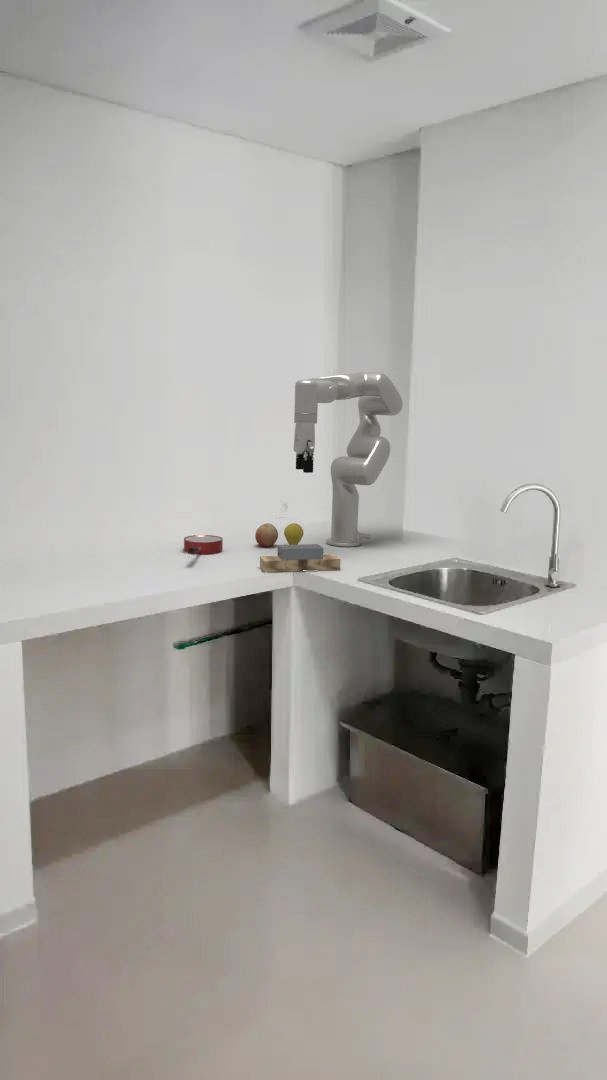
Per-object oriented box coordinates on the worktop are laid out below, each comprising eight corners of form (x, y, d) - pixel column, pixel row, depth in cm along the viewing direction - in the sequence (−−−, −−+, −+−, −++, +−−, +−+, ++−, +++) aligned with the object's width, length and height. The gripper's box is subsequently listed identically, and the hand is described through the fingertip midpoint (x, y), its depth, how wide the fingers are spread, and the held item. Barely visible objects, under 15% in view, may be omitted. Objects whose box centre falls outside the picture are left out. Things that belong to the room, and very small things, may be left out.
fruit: (250, 545, 281) (251, 523, 280) (270, 543, 286) (270, 521, 284) (262, 549, 275) (262, 526, 273) (282, 547, 279) (282, 525, 278)
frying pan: (220, 568, 245) (220, 548, 244) (178, 568, 244) (177, 547, 243) (223, 547, 277) (223, 529, 275) (185, 547, 276) (185, 529, 274)
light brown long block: (333, 564, 254) (333, 554, 253) (340, 570, 247) (340, 559, 246) (259, 567, 248) (260, 556, 247) (264, 572, 241) (264, 561, 240)
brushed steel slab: (317, 564, 252) (317, 544, 251) (322, 568, 246) (323, 548, 245) (277, 565, 249) (277, 545, 248) (282, 570, 243) (282, 549, 242)
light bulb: (303, 550, 275) (304, 522, 273) (301, 554, 268) (302, 525, 266) (284, 549, 275) (285, 521, 273) (282, 553, 269) (283, 524, 267)
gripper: (288, 417, 267) (287, 468, 270) (301, 419, 251) (299, 473, 254) (309, 417, 269) (308, 468, 272) (324, 420, 252) (322, 473, 256)
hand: (304, 470), depth 263 cm, fingers open, 9 cm apart
